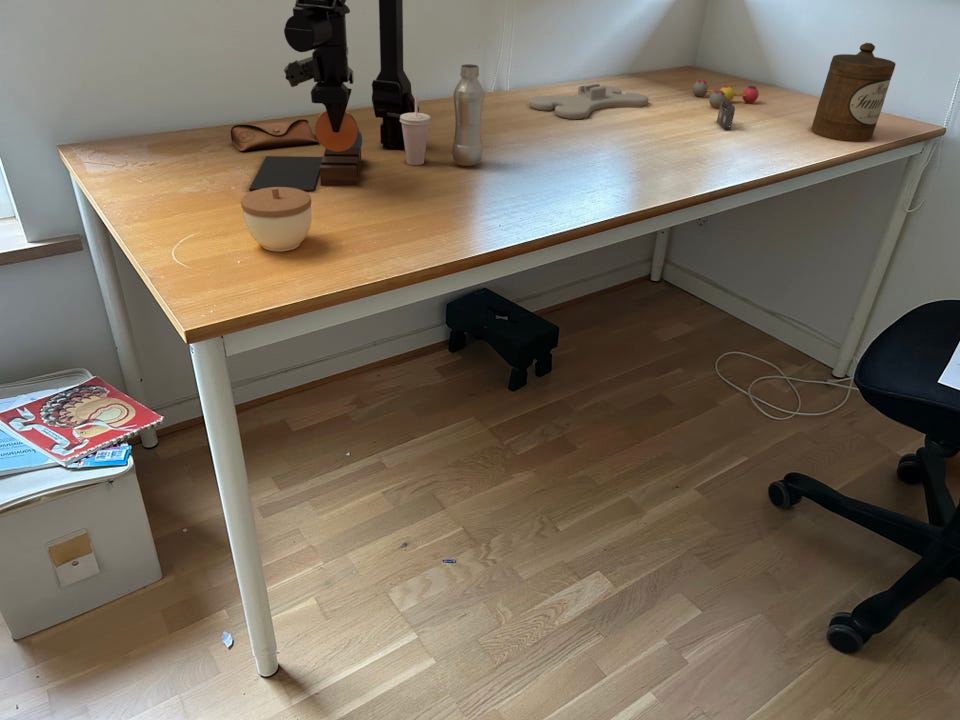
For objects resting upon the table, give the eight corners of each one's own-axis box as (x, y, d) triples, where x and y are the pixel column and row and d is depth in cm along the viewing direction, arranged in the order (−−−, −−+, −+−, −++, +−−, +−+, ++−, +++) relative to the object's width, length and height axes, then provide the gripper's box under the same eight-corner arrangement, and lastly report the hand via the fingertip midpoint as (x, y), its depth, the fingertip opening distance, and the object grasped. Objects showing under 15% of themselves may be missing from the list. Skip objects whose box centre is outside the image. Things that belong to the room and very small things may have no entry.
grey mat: (323, 158, 156) (323, 156, 156) (313, 191, 140) (313, 189, 140) (266, 157, 155) (266, 156, 155) (249, 190, 139) (248, 188, 138)
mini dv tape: (730, 130, 189) (735, 106, 186) (724, 130, 189) (729, 106, 186) (722, 122, 196) (727, 98, 193) (716, 121, 196) (721, 98, 193)
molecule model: (689, 94, 222) (692, 78, 219) (743, 95, 224) (746, 79, 221) (711, 109, 207) (714, 92, 204) (769, 110, 209) (773, 93, 206)
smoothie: (407, 168, 153) (406, 99, 146) (395, 159, 158) (394, 92, 150) (435, 165, 156) (435, 97, 148) (423, 156, 161) (423, 90, 153)
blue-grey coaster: (324, 157, 154) (321, 118, 150) (363, 158, 155) (361, 119, 150) (324, 159, 153) (321, 120, 149) (362, 160, 154) (361, 121, 149)
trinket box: (233, 250, 116) (224, 193, 111) (272, 226, 125) (265, 172, 120) (291, 263, 113) (284, 205, 108) (327, 237, 122) (323, 183, 117)
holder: (654, 104, 209) (657, 86, 206) (571, 121, 190) (574, 101, 187) (604, 90, 221) (606, 73, 218) (521, 105, 202) (523, 86, 199)
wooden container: (855, 145, 182) (885, 50, 170) (800, 131, 191) (825, 40, 180) (881, 135, 191) (912, 45, 179) (827, 122, 200) (853, 35, 188)
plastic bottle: (486, 162, 159) (490, 64, 148) (475, 171, 154) (479, 71, 143) (458, 158, 161) (460, 61, 150) (447, 167, 155) (448, 67, 144)
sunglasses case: (240, 150, 157) (233, 119, 156) (235, 159, 163) (228, 129, 162) (321, 141, 165) (314, 112, 164) (313, 150, 171) (307, 121, 170)
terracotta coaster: (317, 149, 142) (313, 107, 138) (358, 150, 143) (356, 108, 138) (316, 151, 141) (313, 109, 137) (358, 152, 142) (356, 109, 137)
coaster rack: (328, 159, 156) (327, 143, 154) (361, 160, 157) (360, 143, 155) (320, 185, 143) (319, 167, 141) (357, 185, 143) (356, 168, 142)
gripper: (292, 33, 138) (299, 117, 147) (277, 51, 123) (286, 144, 131) (351, 34, 139) (355, 118, 148) (344, 53, 124) (349, 145, 132)
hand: (336, 131), depth 140 cm, fingers closed on terracotta coaster, 1 cm apart
